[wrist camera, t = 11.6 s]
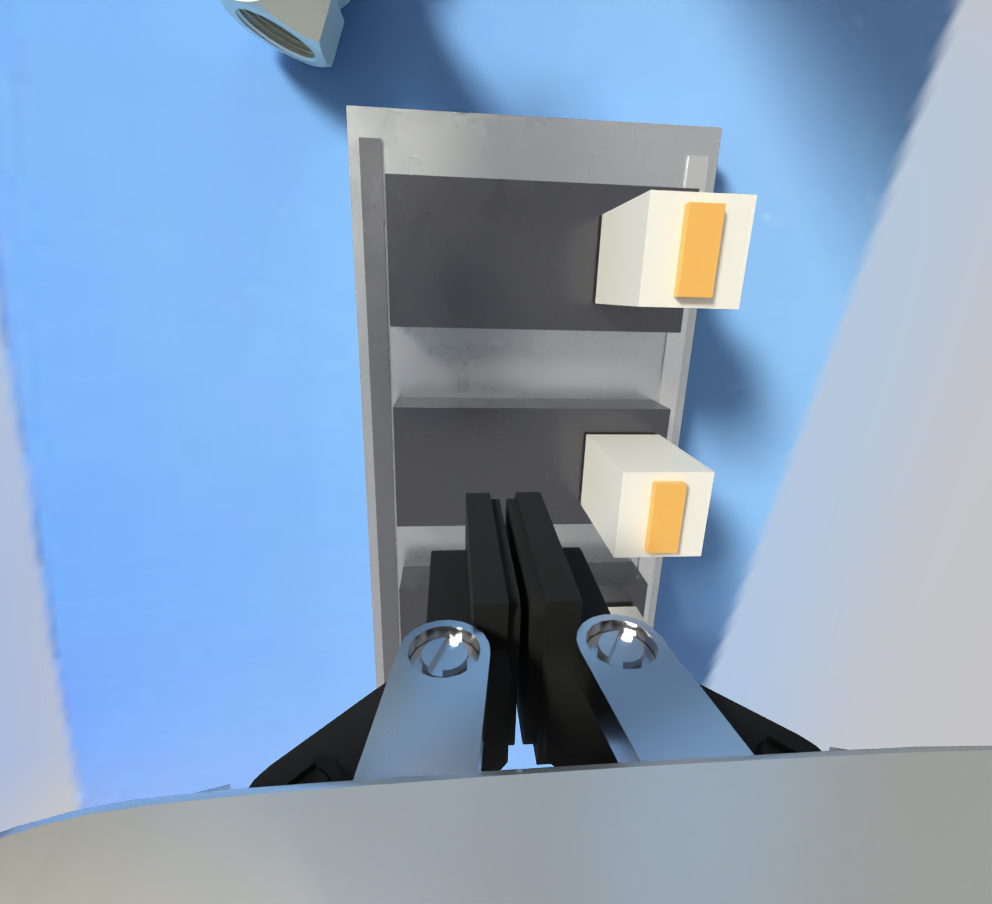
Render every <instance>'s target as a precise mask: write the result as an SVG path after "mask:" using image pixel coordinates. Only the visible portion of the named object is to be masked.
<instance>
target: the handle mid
mask: <svg viewBox="0 0 992 904" xmlns="http://www.w3.org/2000/svg"><path fill="white" fill-rule="evenodd" d="M714 473H715V472H714V471H712V470H711V469H710V468H708V467H707V466H705V465H704V464H702V463H701V462H699V461H698V460H696V459H695V458H693V457H692V456H690V455H689V454H687V453H686V452H684V451H683V450H681V449H680V448H678V447H677V446H675V445H674V444H672V443H671V442H670V441H668V440H667V439H665V438H664V437H662V436H661V435H613V434H586V445H585V457H584V470H583V482H582V494H581V506H582V507H583V509H584V510H585V512H586V514H587V515H588V517H589V518H590V520H591V522H592V523H593V525H594V526H595V528H596V530H597V531H598V533H599V534H600V536H601V538H602V539H603V541H604V542H605V544H606V546H607V547H608V549H609V551H610V552H611V554H612V555H613V557H614V558H631V557H680V556H701V553H702V547H703V541H704V534H705V528H706V522H707V516H708V510H709V504H710V498H711V491H712V485H713V479H714Z"/></svg>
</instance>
